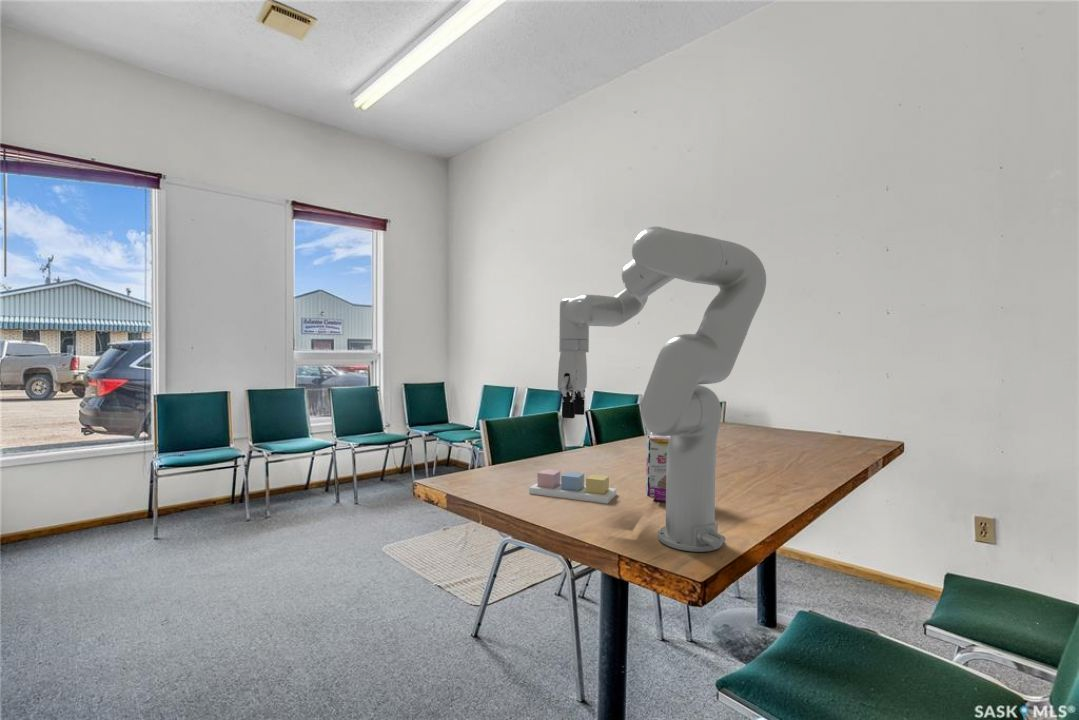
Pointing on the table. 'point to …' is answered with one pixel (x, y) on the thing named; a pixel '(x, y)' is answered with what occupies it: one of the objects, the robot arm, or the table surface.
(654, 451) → the candy bar box
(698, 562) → the table surface
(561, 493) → the white rectangular tray
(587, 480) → the yellow cube
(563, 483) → the slate blue block
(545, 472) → the rose block
